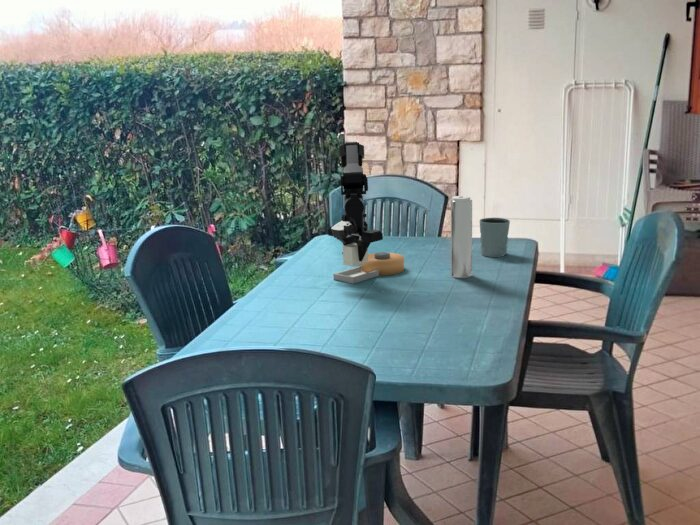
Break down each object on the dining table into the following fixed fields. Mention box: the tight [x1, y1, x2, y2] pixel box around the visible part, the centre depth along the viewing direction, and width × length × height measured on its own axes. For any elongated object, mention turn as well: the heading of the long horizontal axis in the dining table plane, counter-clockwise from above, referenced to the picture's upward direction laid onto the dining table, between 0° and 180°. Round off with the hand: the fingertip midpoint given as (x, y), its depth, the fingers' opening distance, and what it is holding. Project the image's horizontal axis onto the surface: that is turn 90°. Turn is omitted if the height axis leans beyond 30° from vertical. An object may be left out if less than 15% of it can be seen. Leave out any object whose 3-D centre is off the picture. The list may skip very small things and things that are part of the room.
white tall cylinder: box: [450, 195, 473, 279], centre depth 249 cm, size 6×6×25 cm
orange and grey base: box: [333, 251, 405, 284], centre depth 258 cm, size 14×25×5 cm, turn 136°
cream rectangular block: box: [342, 243, 369, 267], centre depth 252 cm, size 4×7×6 cm, turn 136°
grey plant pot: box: [479, 217, 511, 258], centre depth 277 cm, size 10×10×12 cm
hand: (355, 260), depth 253 cm, fingers closed on cream rectangular block, 4 cm apart
